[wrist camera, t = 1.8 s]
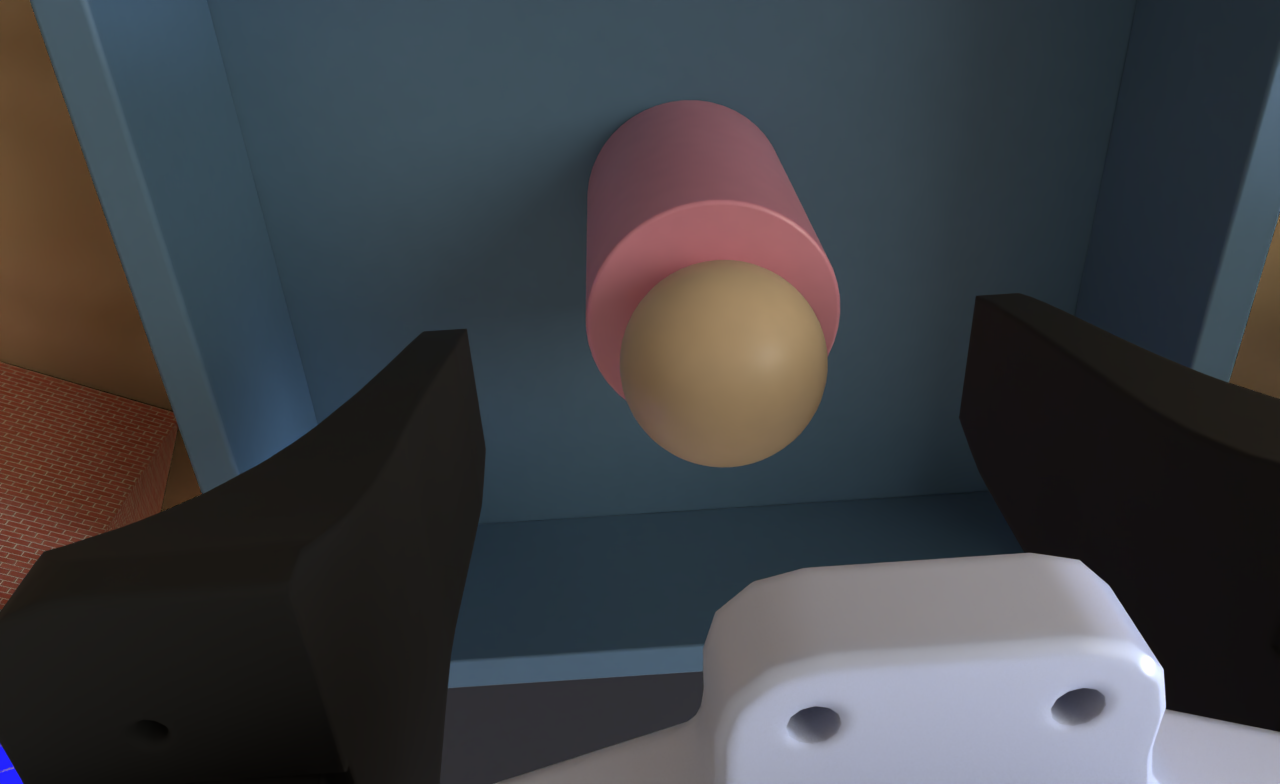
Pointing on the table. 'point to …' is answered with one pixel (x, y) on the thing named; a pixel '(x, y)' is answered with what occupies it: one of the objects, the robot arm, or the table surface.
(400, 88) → the blue tray
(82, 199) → the table surface
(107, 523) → the house
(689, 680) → the mat
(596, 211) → the doll
